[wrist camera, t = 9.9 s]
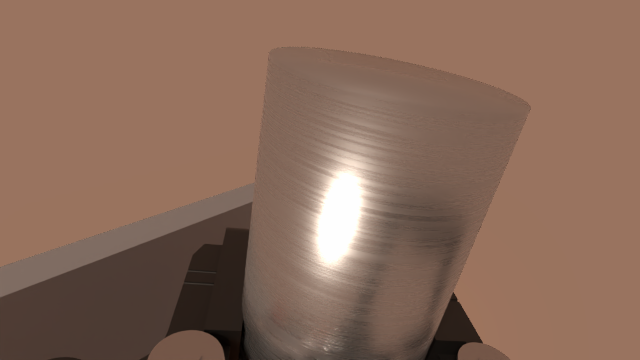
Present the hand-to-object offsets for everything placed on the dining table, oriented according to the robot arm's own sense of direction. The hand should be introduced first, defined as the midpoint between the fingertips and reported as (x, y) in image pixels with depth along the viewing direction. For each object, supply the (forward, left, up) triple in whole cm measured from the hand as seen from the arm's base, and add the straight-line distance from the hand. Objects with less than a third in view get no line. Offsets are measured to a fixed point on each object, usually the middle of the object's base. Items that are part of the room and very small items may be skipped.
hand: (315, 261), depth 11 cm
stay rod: (-2, +2, -7) cm, 8 cm away
